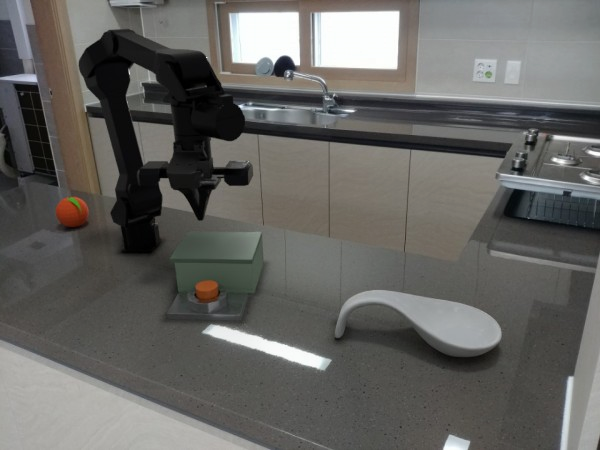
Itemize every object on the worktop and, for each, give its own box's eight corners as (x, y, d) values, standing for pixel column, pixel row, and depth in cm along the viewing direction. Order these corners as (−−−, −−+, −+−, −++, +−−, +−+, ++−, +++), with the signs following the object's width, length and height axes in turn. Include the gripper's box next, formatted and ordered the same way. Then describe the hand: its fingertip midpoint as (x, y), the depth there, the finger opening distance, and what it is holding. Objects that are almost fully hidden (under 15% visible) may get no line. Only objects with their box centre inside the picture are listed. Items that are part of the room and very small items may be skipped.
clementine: (99, 226, 123) (94, 196, 120) (70, 235, 118) (64, 205, 115) (81, 217, 128) (76, 189, 125) (53, 227, 123) (46, 198, 120)
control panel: (167, 319, 87) (165, 303, 85) (179, 297, 93) (177, 281, 92) (240, 321, 86) (239, 305, 84) (248, 298, 92) (247, 283, 91)
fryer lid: (169, 262, 92) (169, 258, 92) (188, 235, 103) (187, 231, 103) (252, 263, 91) (252, 259, 91) (262, 235, 102) (262, 231, 101)
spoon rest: (494, 326, 83) (499, 286, 80) (504, 375, 72) (511, 330, 69) (341, 312, 87) (341, 273, 85) (330, 356, 77) (330, 313, 74)
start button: (194, 300, 87) (192, 290, 86) (199, 289, 90) (198, 280, 89) (215, 300, 86) (214, 291, 86) (220, 289, 90) (219, 280, 89)
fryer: (178, 292, 95) (174, 262, 92) (195, 262, 105) (192, 235, 103) (254, 293, 93) (252, 264, 91) (263, 263, 104) (262, 236, 102)
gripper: (117, 145, 81) (132, 238, 87) (239, 144, 80) (245, 239, 86) (142, 128, 92) (154, 213, 98) (250, 127, 90) (256, 213, 96)
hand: (201, 219), depth 94 cm, fingers closed
